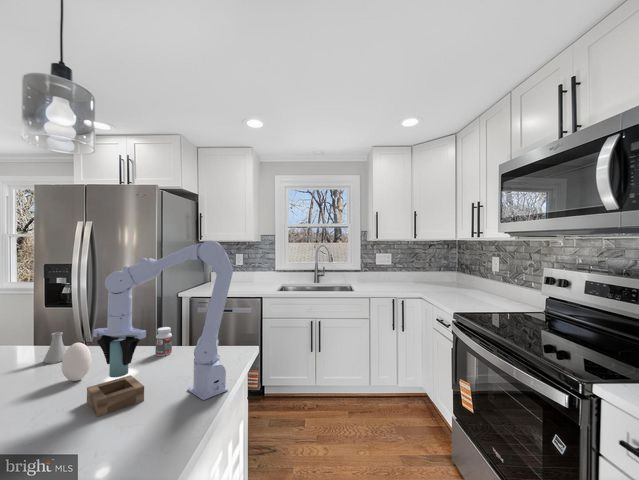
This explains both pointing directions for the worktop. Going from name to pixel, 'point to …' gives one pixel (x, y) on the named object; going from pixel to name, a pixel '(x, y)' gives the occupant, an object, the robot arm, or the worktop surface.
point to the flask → (55, 349)
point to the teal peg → (117, 360)
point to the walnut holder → (114, 395)
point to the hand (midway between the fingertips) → (119, 363)
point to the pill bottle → (163, 341)
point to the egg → (76, 362)
